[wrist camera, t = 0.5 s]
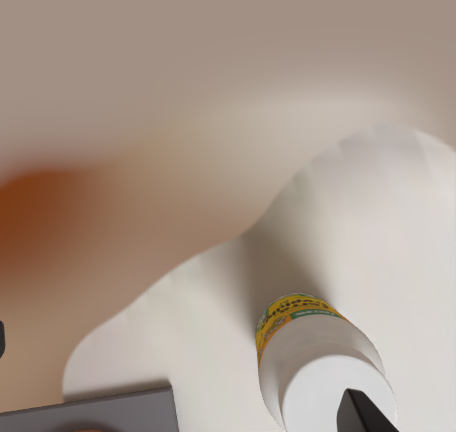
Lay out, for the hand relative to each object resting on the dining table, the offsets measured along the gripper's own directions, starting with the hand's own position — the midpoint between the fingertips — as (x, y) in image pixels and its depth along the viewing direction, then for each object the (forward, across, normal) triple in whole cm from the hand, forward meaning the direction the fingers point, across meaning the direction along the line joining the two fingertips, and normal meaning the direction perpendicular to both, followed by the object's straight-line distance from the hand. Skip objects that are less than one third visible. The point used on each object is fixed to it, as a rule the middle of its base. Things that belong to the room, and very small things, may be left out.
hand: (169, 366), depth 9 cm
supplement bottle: (+12, -6, +6) cm, 14 cm away
